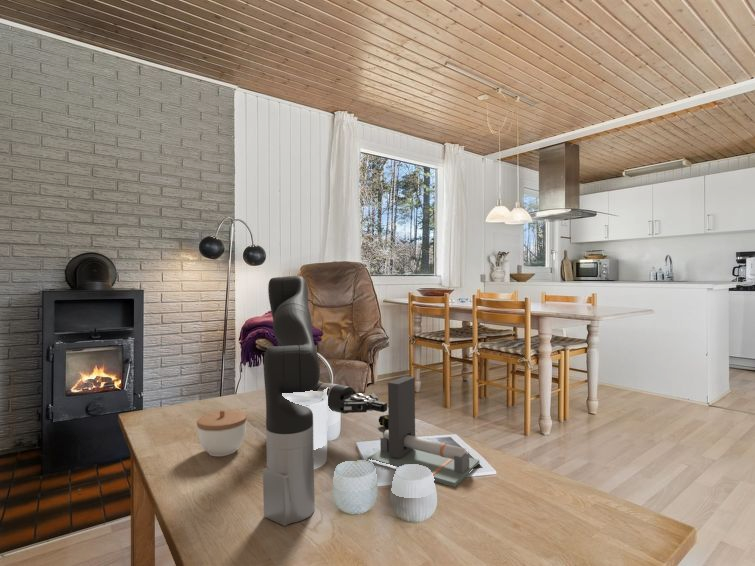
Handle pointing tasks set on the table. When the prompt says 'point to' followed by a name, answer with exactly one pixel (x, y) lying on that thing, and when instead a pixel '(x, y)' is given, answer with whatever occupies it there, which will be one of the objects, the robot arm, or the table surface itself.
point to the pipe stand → (430, 458)
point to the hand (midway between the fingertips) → (385, 407)
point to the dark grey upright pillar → (401, 414)
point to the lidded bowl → (222, 432)
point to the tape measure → (384, 421)
